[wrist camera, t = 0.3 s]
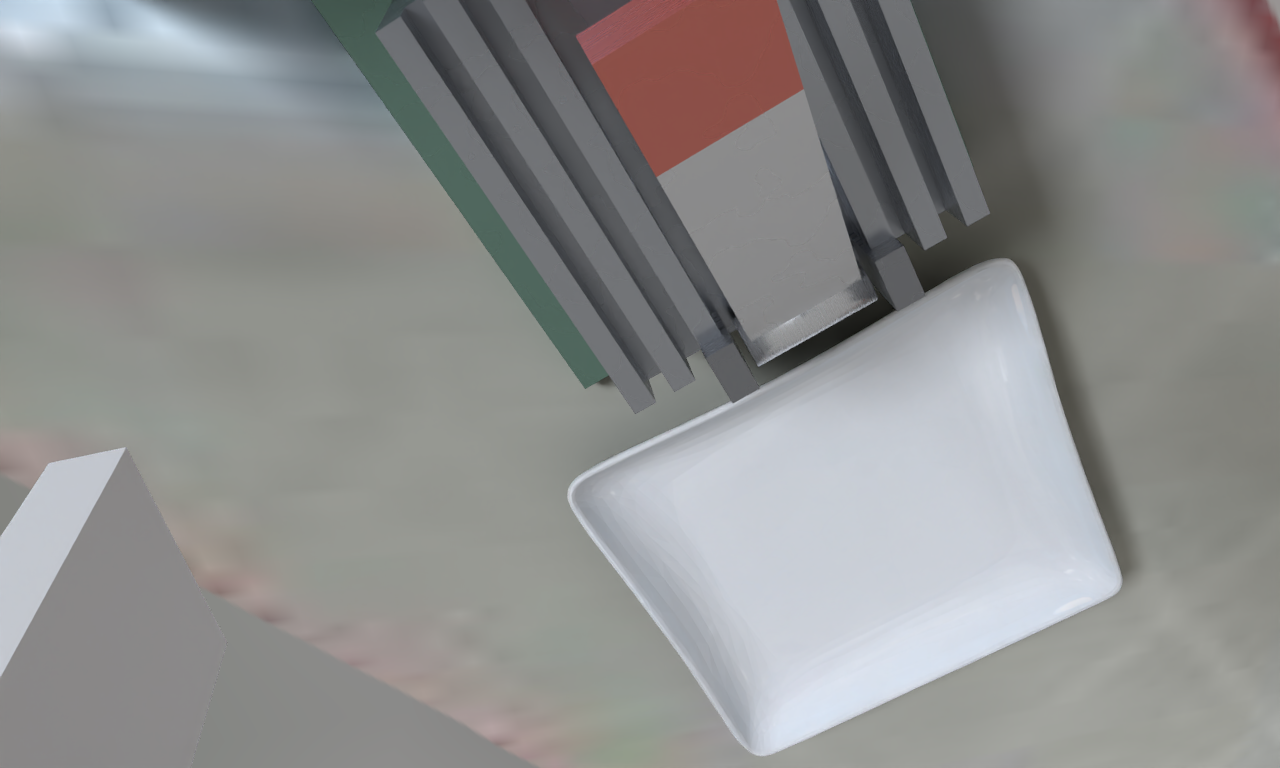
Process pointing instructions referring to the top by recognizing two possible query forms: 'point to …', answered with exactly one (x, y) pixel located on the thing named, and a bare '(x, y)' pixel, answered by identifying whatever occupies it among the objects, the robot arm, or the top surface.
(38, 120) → the top surface
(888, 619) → the salad plate
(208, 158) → the top surface
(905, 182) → the heatsink
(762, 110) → the block
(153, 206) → the top surface
